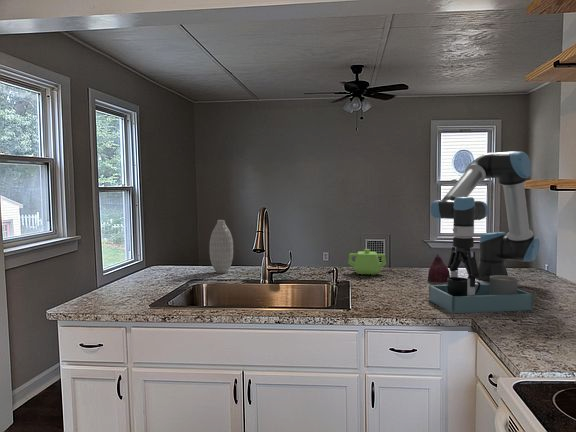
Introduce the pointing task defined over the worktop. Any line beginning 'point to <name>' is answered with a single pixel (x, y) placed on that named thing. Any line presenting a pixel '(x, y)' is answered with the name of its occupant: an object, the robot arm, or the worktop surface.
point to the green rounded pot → (367, 262)
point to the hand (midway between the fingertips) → (462, 291)
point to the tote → (480, 300)
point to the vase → (221, 247)
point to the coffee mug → (503, 285)
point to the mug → (459, 286)
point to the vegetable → (438, 271)
